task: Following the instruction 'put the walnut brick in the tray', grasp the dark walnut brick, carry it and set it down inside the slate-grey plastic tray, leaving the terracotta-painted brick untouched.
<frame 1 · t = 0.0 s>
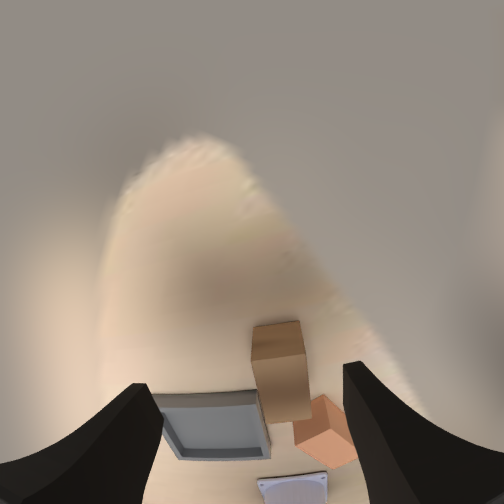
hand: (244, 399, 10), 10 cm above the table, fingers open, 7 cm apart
walnut brick: (281, 357, 21), on the table
terracotta brick: (325, 417, 23), on the table
tray: (213, 424, 23), on the table
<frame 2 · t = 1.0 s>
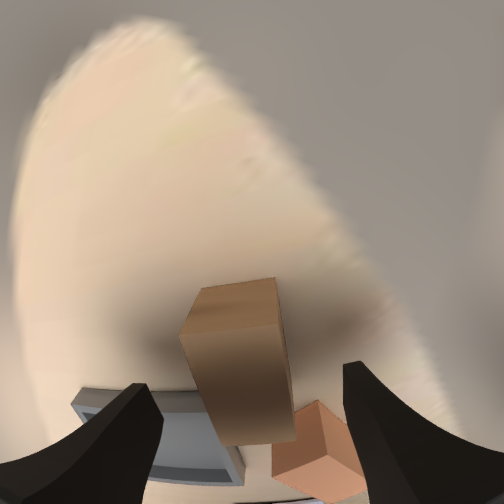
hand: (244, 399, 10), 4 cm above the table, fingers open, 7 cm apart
walnut brick: (250, 340, 14), on the table
terracotta brick: (321, 433, 15), on the table
tray: (164, 435, 16), on the table
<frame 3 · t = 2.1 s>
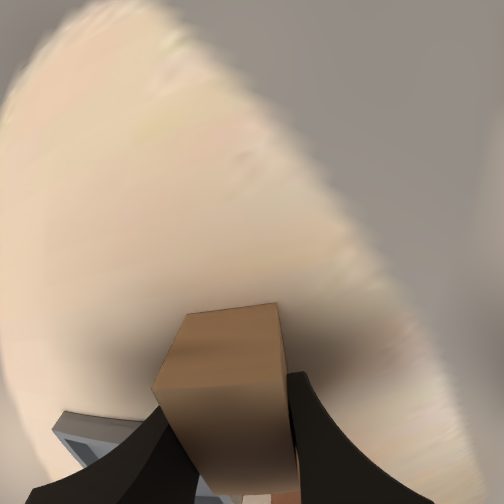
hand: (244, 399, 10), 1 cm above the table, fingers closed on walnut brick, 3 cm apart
walnut brick: (246, 374, 11), on the table, touching gripper
terracotta brick: (326, 463, 13), on the table
tray: (153, 462, 13), on the table
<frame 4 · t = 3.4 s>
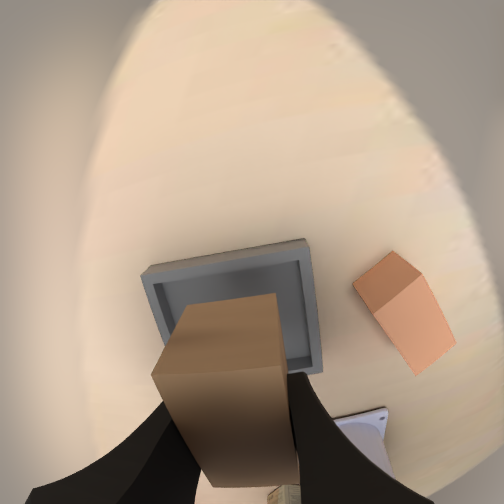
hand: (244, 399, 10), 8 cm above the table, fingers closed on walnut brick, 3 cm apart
walnut brick: (246, 366, 11), point 7 cm above the table, touching gripper
box: (295, 491, 25), on the table
terracotta brick: (394, 299, 17), on the table
tray: (238, 315, 18), on the table
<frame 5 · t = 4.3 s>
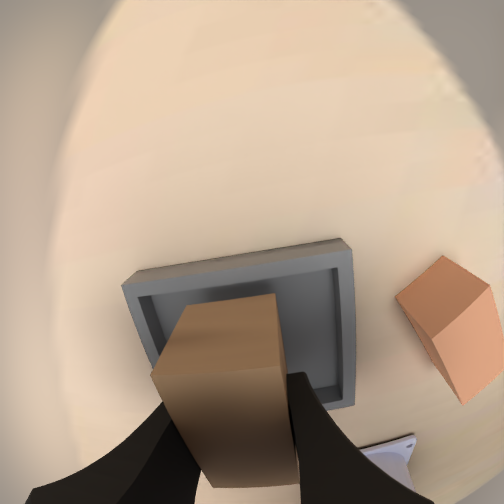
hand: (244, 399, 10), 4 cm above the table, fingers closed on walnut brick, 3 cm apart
walnut brick: (245, 366, 11), point 3 cm above the table, touching gripper
terracotta brick: (439, 314, 13), on the table
tray: (250, 337, 14), on the table
when the fingers open (3 cm above the table, at t = 4.9 s): walnut brick stays where it is, resting on tray.
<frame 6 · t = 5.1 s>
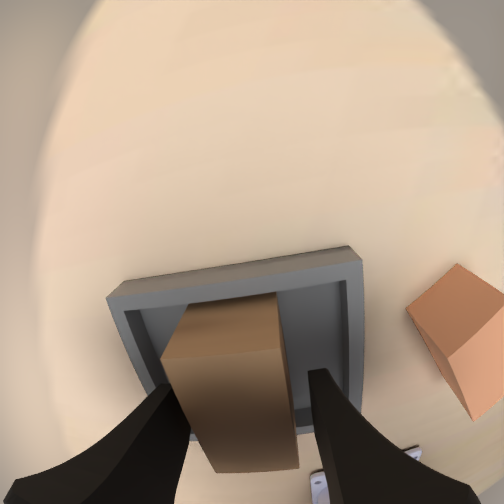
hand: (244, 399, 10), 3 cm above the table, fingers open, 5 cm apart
walnut brick: (247, 355, 12), resting on tray
terracotta brick: (450, 325, 12), on the table
tray: (248, 353, 12), on the table
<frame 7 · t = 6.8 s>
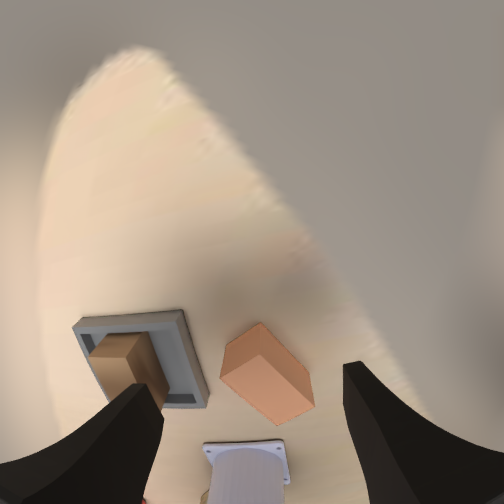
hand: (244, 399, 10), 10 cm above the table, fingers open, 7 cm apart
walnut brick: (140, 360, 21), resting on tray
box: (224, 495, 29), on the table
terracotta brick: (269, 359, 21), on the table
tray: (143, 358, 22), on the table
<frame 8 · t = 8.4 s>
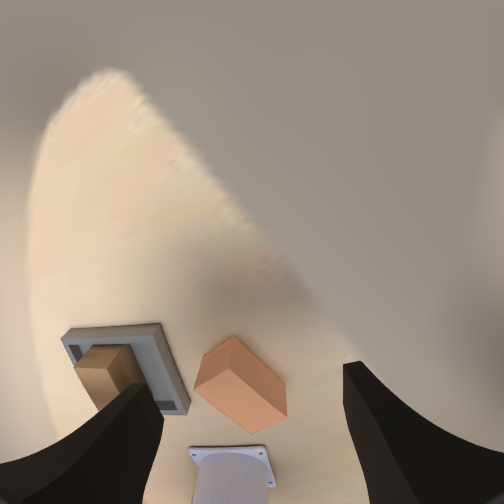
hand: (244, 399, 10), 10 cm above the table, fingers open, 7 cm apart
walnut brick: (125, 368, 22), resting on tray
terracotta brick: (245, 369, 22), on the table
tray: (128, 367, 22), on the table
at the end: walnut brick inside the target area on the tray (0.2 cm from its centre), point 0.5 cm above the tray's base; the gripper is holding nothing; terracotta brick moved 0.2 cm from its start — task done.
